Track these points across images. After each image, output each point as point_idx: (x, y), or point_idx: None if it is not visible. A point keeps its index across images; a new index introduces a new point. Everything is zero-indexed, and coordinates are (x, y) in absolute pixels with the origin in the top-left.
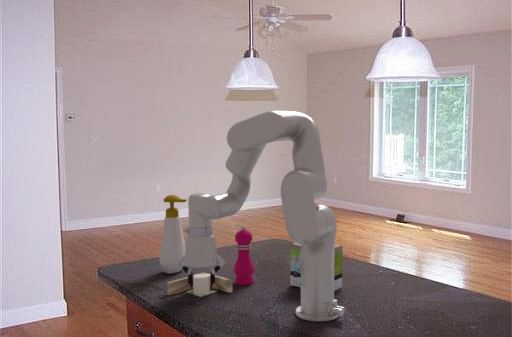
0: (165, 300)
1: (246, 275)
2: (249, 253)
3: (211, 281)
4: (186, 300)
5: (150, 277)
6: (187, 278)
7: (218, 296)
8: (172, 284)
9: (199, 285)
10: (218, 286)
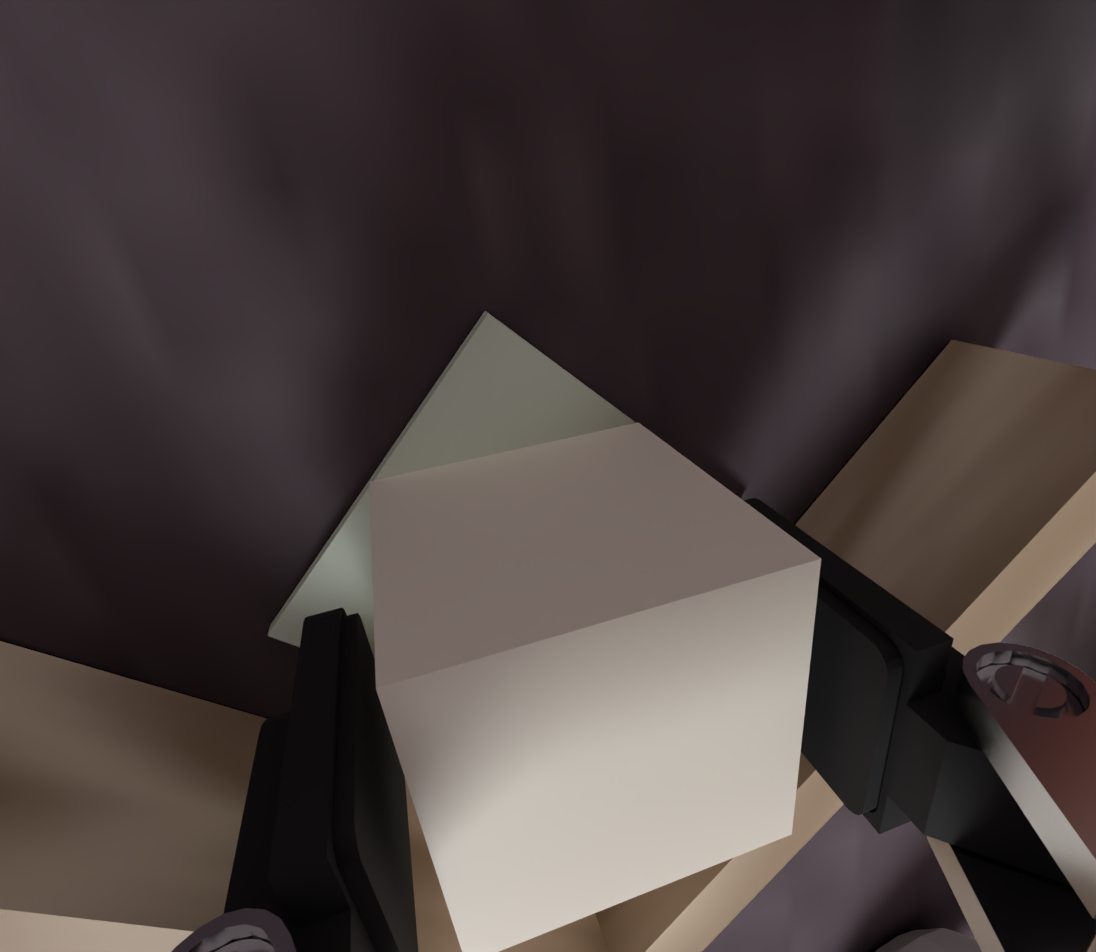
0: (1033, 73)
1: None
2: None
3: (323, 686)
4: (716, 72)
5: None
6: None
7: (120, 387)
8: (1082, 427)
9: (591, 512)
10: None
